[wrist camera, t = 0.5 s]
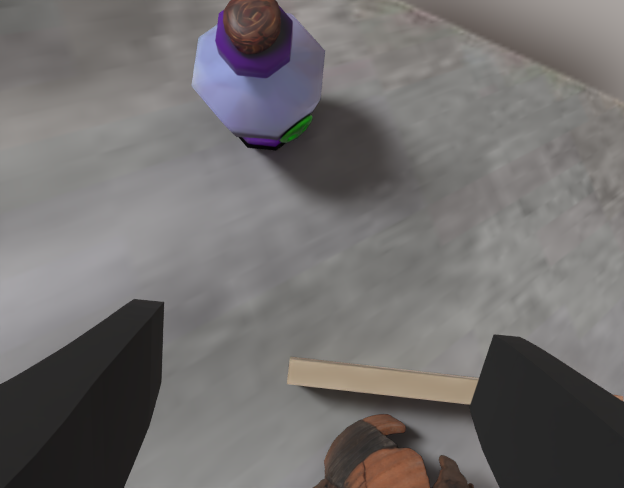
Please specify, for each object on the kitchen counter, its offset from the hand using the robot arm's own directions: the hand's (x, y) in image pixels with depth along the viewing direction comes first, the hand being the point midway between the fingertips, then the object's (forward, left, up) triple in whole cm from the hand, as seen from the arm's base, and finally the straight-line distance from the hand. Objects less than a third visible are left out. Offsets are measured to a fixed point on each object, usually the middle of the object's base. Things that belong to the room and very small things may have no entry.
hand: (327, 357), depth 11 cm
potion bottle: (+16, +5, -24) cm, 30 cm away
